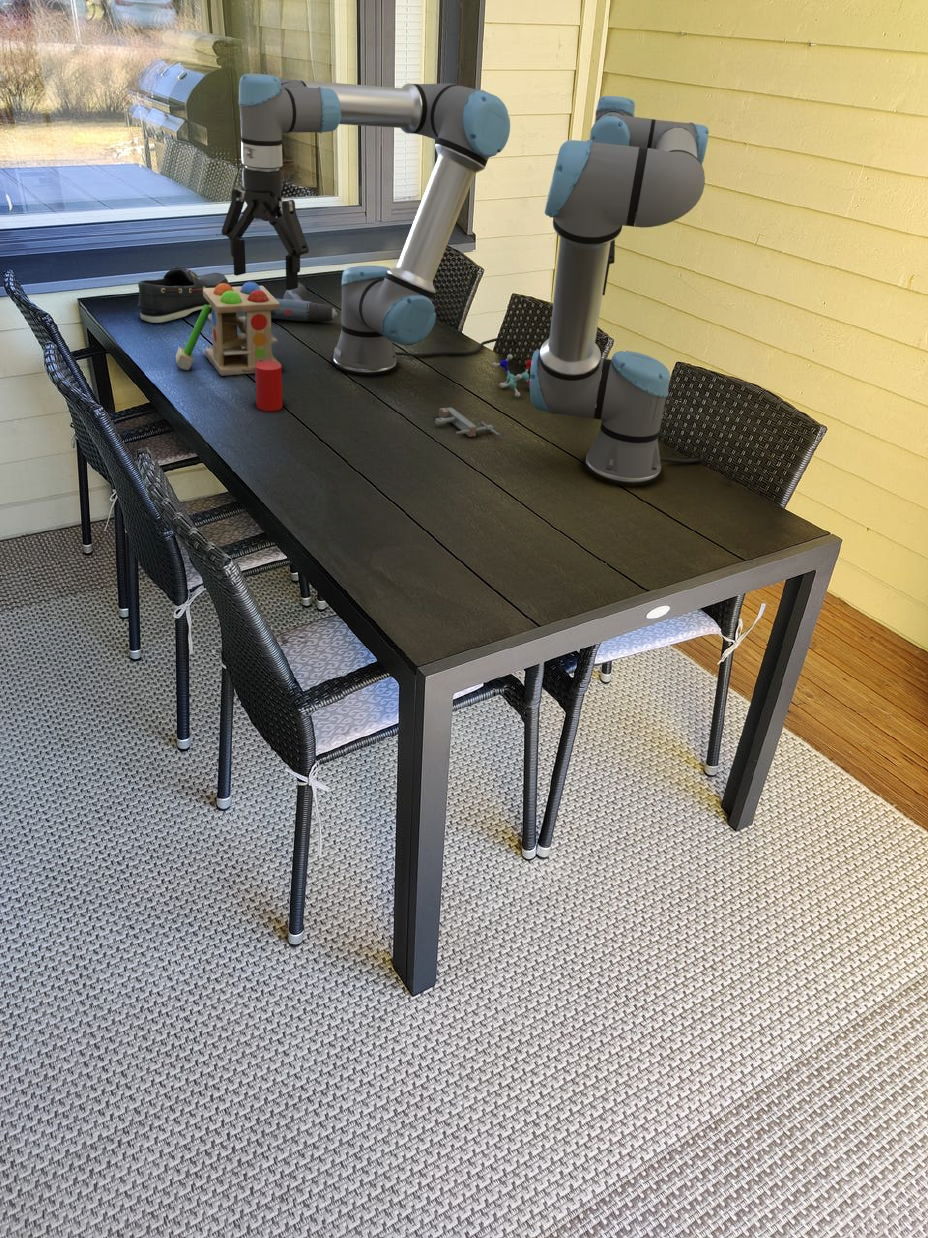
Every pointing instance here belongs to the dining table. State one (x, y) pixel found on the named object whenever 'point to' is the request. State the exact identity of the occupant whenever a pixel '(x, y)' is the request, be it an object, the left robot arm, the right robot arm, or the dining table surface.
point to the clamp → (457, 418)
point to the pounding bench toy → (234, 329)
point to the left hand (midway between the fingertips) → (265, 281)
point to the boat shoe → (175, 294)
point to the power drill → (302, 307)
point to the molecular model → (511, 377)
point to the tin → (268, 385)
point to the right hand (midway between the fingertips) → (588, 285)
